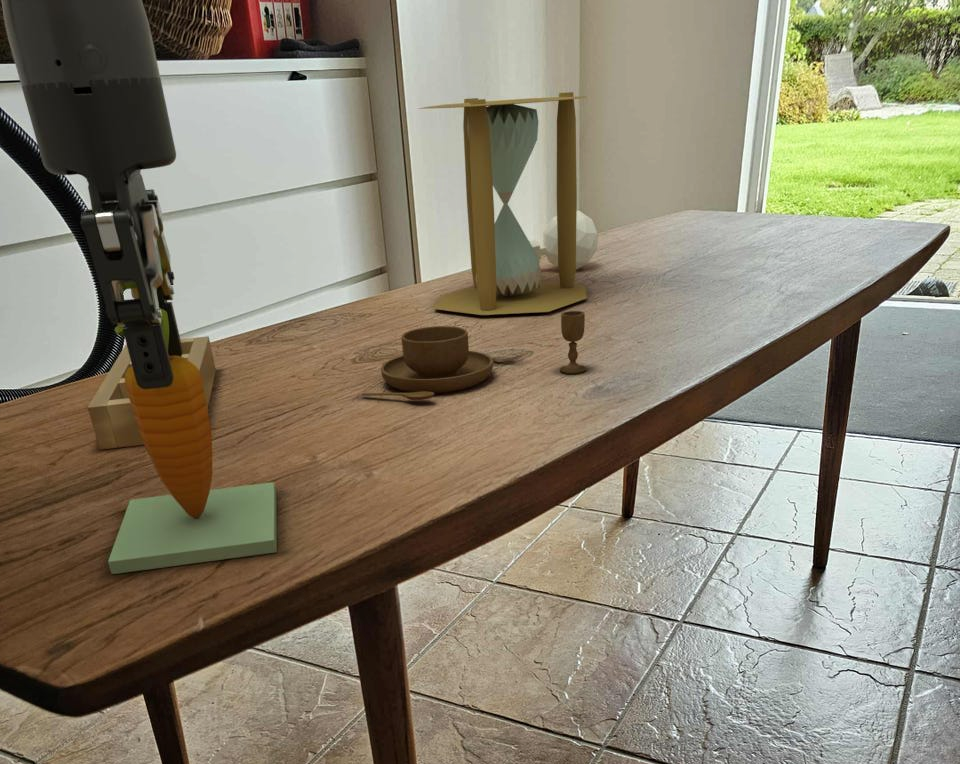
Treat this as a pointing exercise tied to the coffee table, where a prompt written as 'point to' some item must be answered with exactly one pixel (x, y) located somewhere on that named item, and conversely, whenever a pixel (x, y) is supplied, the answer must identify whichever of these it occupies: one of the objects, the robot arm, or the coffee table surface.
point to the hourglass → (503, 245)
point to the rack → (114, 404)
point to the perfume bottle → (584, 241)
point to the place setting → (456, 359)
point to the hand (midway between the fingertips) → (162, 371)
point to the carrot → (176, 430)
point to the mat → (196, 529)
